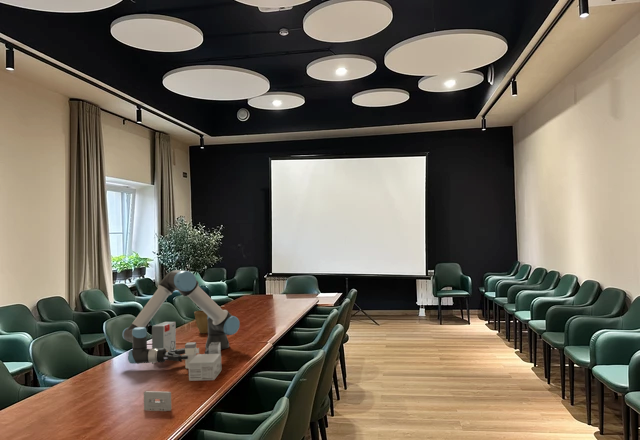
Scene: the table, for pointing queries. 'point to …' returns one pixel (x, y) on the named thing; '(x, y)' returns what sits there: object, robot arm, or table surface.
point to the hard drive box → (164, 336)
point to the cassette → (157, 405)
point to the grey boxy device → (215, 348)
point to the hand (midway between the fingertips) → (196, 353)
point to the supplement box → (204, 367)
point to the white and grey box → (190, 351)
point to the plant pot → (201, 321)
